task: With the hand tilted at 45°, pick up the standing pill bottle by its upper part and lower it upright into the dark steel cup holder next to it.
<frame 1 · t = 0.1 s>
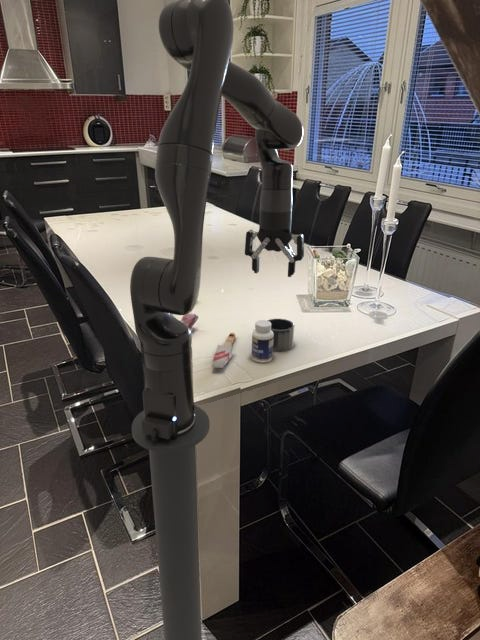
hand: (273, 274, 115), 21 cm above the table, tool pointing down, fingers open, 8 cm apart
pill bottle: (262, 358, 119), on the table
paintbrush: (225, 355, 121), on the table
lemon: (190, 303, 155), on the table
video game controller: (183, 334, 132), on the table
holder: (278, 344, 126), on the table
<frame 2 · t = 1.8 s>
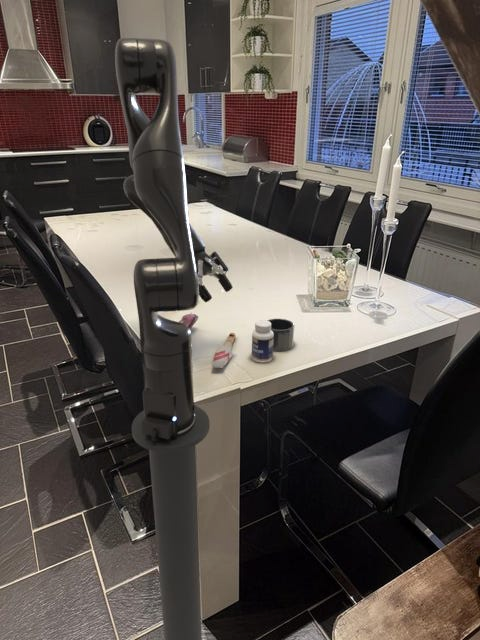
hand: (219, 295, 113), 17 cm above the table, tool tilted 40°, fingers open, 8 cm apart
nothing on the table moved.
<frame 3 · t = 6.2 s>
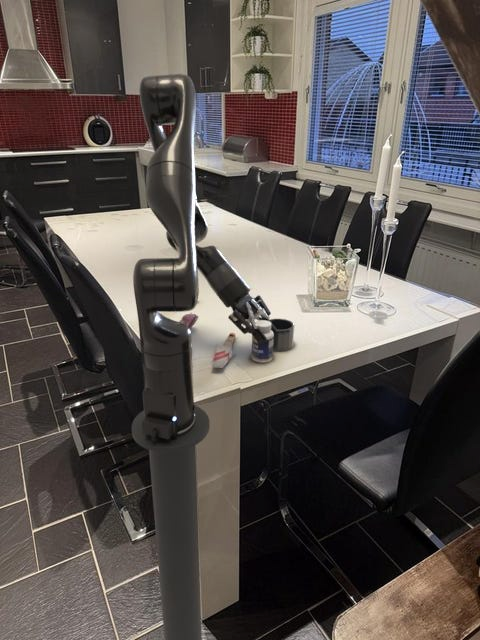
hand: (269, 337, 116), 6 cm above the table, tool tilted 45°, fingers closed on pill bottle, 5 cm apart
pill bottle: (262, 358, 119), on the table, touching gripper
everything else where it was.
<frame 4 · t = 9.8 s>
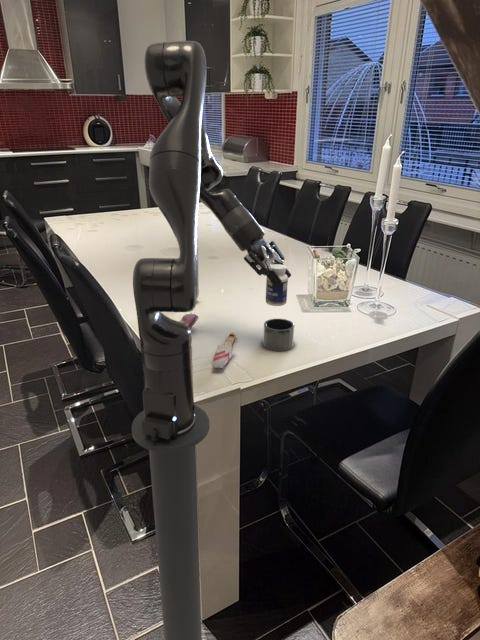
hand: (283, 280, 117), 19 cm above the table, tool tilted 45°, fingers closed on pill bottle, 5 cm apart
pill bottle: (275, 303, 120), point 13 cm above the table, touching gripper
everything else where it was.
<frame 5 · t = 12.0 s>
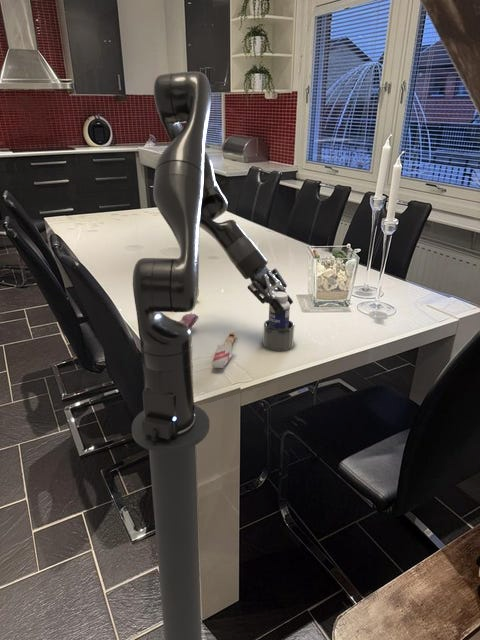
hand: (285, 308, 121), 11 cm above the table, tool tilted 45°, fingers closed on pill bottle, 5 cm apart
pill bottle: (278, 329, 124), point 5 cm above the table, touching gripper
everything else where it was.
when the fingers open (7 cm above the table, at t = 13.6 s): pill bottle stays where it is, resting on holder.
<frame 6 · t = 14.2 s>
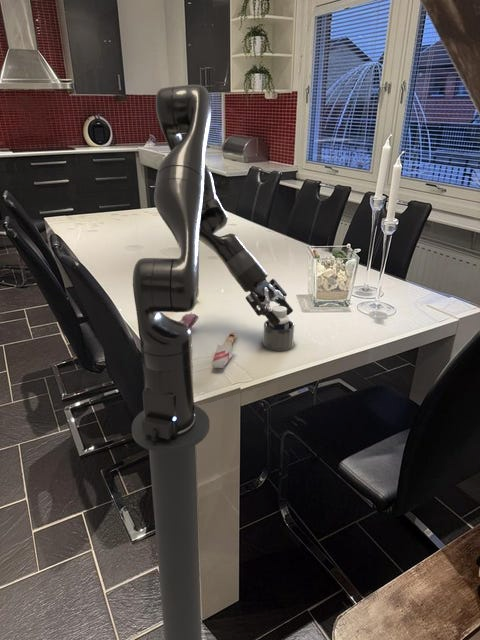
hand: (284, 318, 122), 8 cm above the table, tool tilted 45°, fingers open, 8 cm apart
pill bottle: (277, 342, 126), point 1 cm above the table, touching holder
everything else where it was.
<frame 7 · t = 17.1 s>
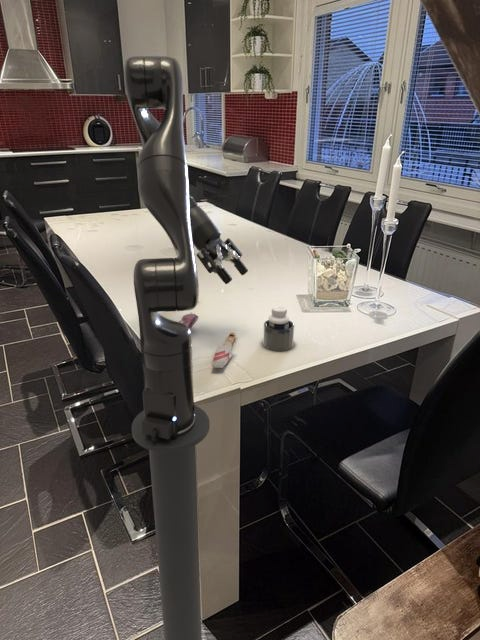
hand: (237, 277, 120), 19 cm above the table, tool tilted 45°, fingers open, 8 cm apart
nothing on the table moved.
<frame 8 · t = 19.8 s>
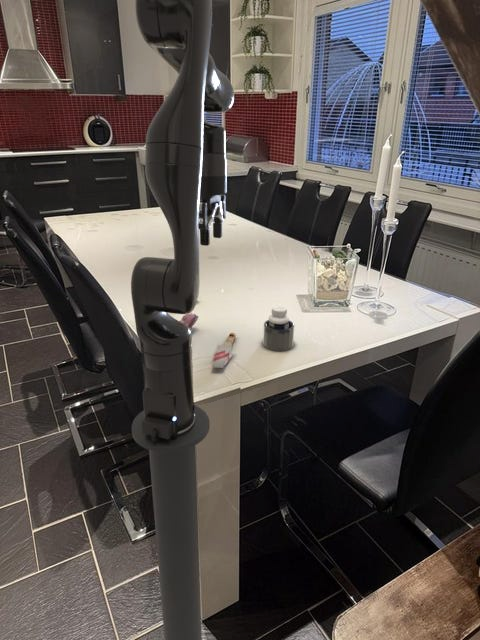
hand: (211, 241, 116), 28 cm above the table, tool pointing down, fingers open, 8 cm apart
nothing on the table moved.
at the end: pill bottle 0.2 cm off-centre in the holder, point 0.6 cm above the holder's base; pill bottle tilted 0°; the gripper is holding nothing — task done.
